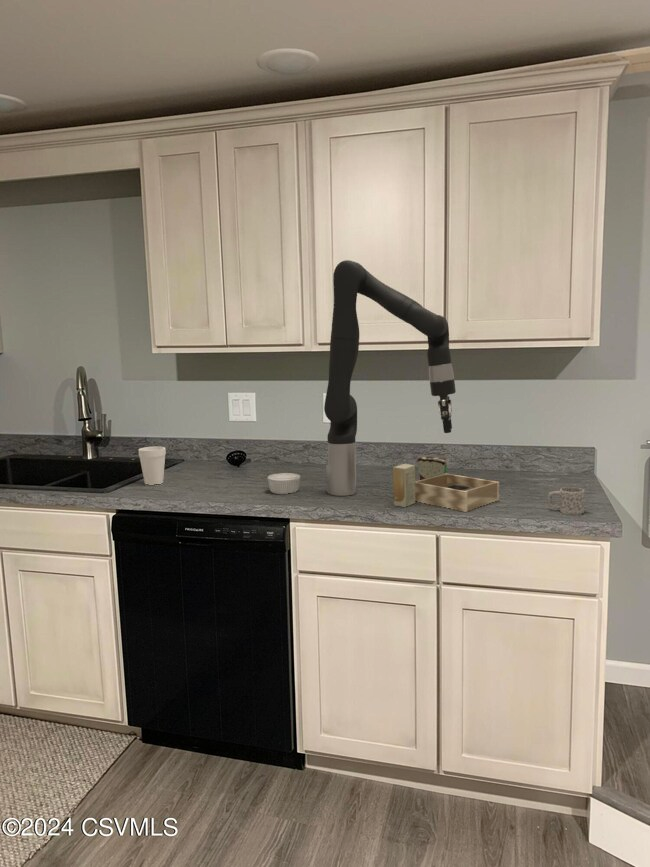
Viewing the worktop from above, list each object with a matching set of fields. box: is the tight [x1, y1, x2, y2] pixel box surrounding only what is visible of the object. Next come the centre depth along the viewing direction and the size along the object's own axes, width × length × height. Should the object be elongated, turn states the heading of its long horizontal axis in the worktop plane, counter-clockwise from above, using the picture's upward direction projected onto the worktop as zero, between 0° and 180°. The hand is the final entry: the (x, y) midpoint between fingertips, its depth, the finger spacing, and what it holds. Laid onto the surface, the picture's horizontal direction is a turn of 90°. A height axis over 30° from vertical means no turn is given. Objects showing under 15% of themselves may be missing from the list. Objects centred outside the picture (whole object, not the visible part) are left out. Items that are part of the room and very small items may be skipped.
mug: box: [547, 486, 586, 516], centre depth 196 cm, size 10×7×7 cm
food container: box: [415, 454, 450, 481], centre depth 233 cm, size 12×6×10 cm, turn 48°
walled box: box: [415, 472, 500, 513], centre depth 211 cm, size 20×18×6 cm
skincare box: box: [392, 463, 416, 508], centre depth 207 cm, size 6×4×12 cm
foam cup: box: [138, 445, 167, 485], centre depth 244 cm, size 10×9×13 cm
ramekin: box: [267, 472, 301, 495], centre depth 229 cm, size 11×11×5 cm
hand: (448, 431), depth 210 cm, fingers open, 8 cm apart
